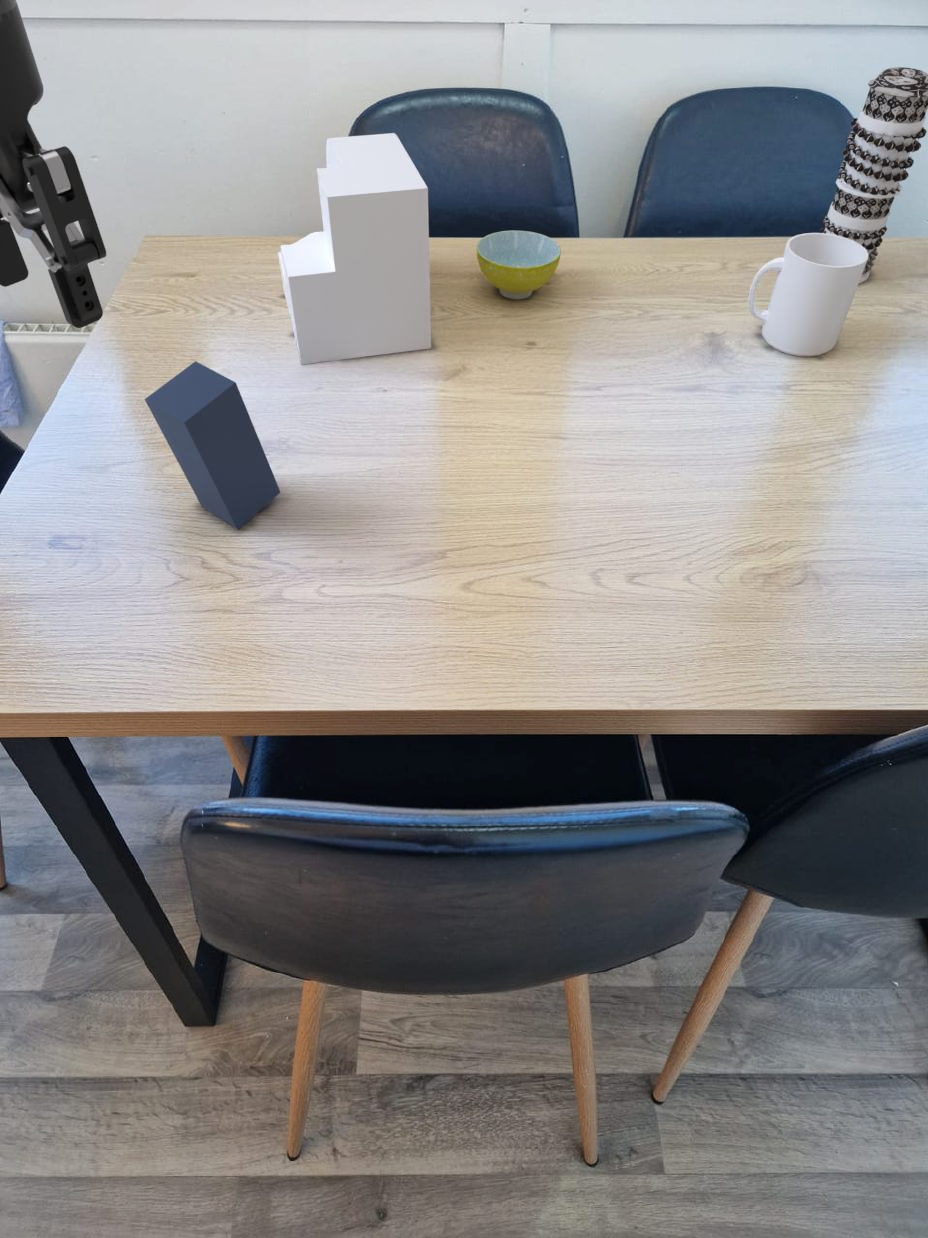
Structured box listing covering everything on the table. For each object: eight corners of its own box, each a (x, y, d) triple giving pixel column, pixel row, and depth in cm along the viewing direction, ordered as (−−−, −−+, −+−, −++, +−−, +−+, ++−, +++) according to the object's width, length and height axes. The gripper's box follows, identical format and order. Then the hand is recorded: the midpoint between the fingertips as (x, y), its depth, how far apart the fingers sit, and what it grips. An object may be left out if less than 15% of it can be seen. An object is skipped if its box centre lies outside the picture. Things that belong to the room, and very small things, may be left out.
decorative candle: (857, 292, 117) (933, 88, 99) (795, 272, 121) (857, 73, 103) (881, 269, 122) (957, 71, 104) (820, 251, 126) (884, 57, 107)
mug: (845, 358, 105) (881, 266, 96) (752, 359, 105) (779, 268, 96) (820, 320, 111) (851, 232, 103) (732, 322, 111) (755, 233, 102)
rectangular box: (184, 422, 70) (236, 381, 73) (144, 399, 73) (196, 360, 75) (237, 530, 82) (281, 491, 84) (201, 507, 84) (245, 470, 87)
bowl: (572, 287, 117) (577, 243, 113) (528, 320, 111) (531, 274, 106) (505, 265, 121) (507, 222, 117) (459, 295, 115) (459, 250, 111)
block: (279, 273, 119) (256, 124, 105) (392, 262, 122) (384, 114, 108) (301, 364, 103) (277, 201, 88) (431, 348, 106) (427, 187, 91)
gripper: (-201, -9, 44) (-61, 288, 56) (-63, 40, 38) (60, 361, 50) (-64, -31, 48) (39, 251, 60) (81, 10, 42) (163, 314, 54)
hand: (49, 301), depth 55 cm, fingers open, 8 cm apart
